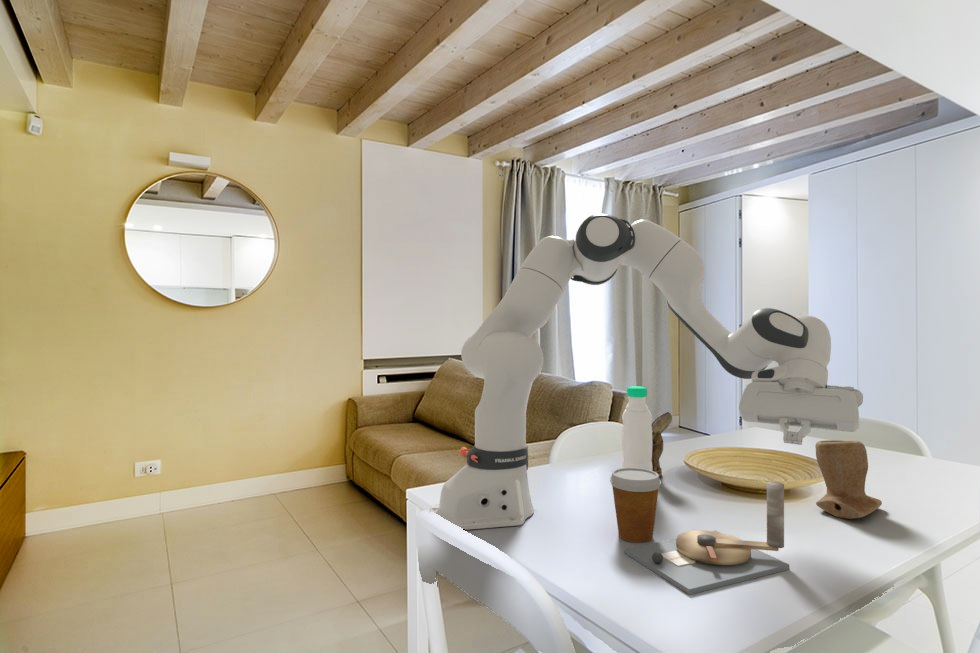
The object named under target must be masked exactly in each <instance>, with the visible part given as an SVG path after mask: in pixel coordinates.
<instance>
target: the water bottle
mask: <svg viewBox="0 0 980 653" xmlns="http://www.w3.org/2000/svg"><path fill="white" fill-rule="evenodd" d="M626 395H627V399H628V401H627V404H626V406H625V409H624V411H623V413H622V416H621V419H622V420H621V421H622V429H621V431H622V432H621V434H622V435H621V436H622V437H621V442H622V444H621V445H622V446H621V447H622V467H621V468H642V469H648V470H651V471H652V461H651V460H652V432H653V431H652V423H653V416H652V413H651V411H650V410H649V406H648V405H647V403H646V399H647V397H648V389H647V388H646V387H644V386H639V385H638V386H637V385H635V386H633V385H632V386H629V387H627V388H626Z"/></svg>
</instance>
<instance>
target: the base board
mask: <svg viewBox="0 0 980 653" xmlns="http://www.w3.org/2000/svg"><path fill="white" fill-rule="evenodd" d="M712 531H713V532H719V531H717V530H716V529H715V530H712ZM624 554H625V555H627V556H628V557H630V558H631V559H633V560H635V561H636V562H638V563H639V564H641V565H642V566H644V567H645V568H647V569H649V570H650V571H652V572H653V573H655V574H656V575H658V576H660V577H661V578H663V579H664V580H666V581H668V582H669V583H671V584H672V585H673V586H675V587H677V588H679V589H680V590H682V591H683V592H685V593H686V594H688V595H693V594H697V593H701V592H705V591H709V590H712V589H713V590H714V589H716V588H721V587H725V586H728V585H733V584H736V583H741V582H745V581H748V580H753V579H756V578H760V577H764V576H768V575H773V574H775V573H780V572H784V571H789V570H790V564H789V563H787V562H785V561H783V560H781V559H780V558H779V559H778V558H776V557H774V556H772V555H771V554H768V553H765V552H763V551H762V550H757V549H751V558H750V559H749V560H748V561H746V562H744V563H741V564H735V565H717V564H710V563H705V562H701V561H697V560H694V559H692V558H689V557H687V556H685V555H684V554H682V553H681V552H680V551H679V550H678V549H677V547H676V538H672V539H666V540H661V541H656V542H652V543H647V544H641V545H635V546H632V547H631V546H630V547H626V548H624Z"/></svg>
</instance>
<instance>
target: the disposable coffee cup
mask: <svg viewBox="0 0 980 653" xmlns="http://www.w3.org/2000/svg"><path fill="white" fill-rule="evenodd" d="M609 482H610V485H611V486H612V493H613V501H614V510H615V516H616V525H617V532H618V537H619V538H620V539H622V540H624V541H626V542H630V543H647V542H651V541H652V540H653V539H654V538H653V537H654V530H655V523H656V522H655V520H656V514H657V513H656V512H657V506H658V496H659V488H661V485H662V481H661V480H660V477H659V475H658V473H656V472H654V471H651V470H648V469H642V468H622V467H621V468H617V469H614V470H612V473H611V476H610V478H609Z"/></svg>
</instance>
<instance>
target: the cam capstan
mask: <svg viewBox="0 0 980 653" xmlns="http://www.w3.org/2000/svg"><path fill="white" fill-rule="evenodd" d="M713 531H714V530H711V531H710V530H689V531H685V532H682V533H680V534H678V536H677V537H675V539H676V547H677V549H678V550H679V551H680V552H681V553H682V554H684V555H685V556H687V557H689V558H692V559H694V560H697V561H701V562H705V563H710V564H717V565H735V564H741V563H744V562H746V561H748V560H749V559H750V558H751V549H757V550H759V551H771V552H772V551H773V552H779V549H783V548H785V484H784V483H783V482H778V481H767V482H766V541H755V540H753V541H752V540H743V539H740V538H739V537H736V536H733V535H731V534H727V533H724V532H720V531H718V532H713Z"/></svg>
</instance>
